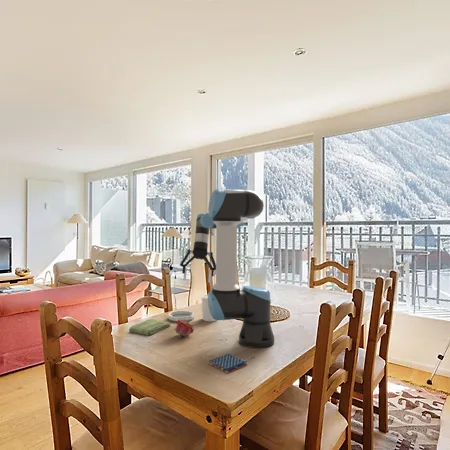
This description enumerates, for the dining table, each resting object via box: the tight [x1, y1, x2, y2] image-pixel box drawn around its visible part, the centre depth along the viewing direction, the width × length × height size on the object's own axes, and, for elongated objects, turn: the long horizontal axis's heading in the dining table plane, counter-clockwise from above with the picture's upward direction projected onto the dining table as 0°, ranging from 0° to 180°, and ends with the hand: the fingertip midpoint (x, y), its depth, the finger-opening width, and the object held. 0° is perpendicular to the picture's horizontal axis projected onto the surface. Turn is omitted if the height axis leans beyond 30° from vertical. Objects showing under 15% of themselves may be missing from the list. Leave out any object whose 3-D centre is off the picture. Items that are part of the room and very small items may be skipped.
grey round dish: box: [168, 309, 195, 323], centre depth 176 cm, size 13×13×3 cm
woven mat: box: [208, 353, 248, 374], centre depth 119 cm, size 10×11×2 cm
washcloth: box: [128, 318, 172, 337], centre depth 158 cm, size 13×18×3 cm
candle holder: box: [200, 294, 218, 322], centre depth 175 cm, size 10×10×12 cm
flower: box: [174, 319, 194, 339], centre depth 147 cm, size 10×9×8 cm
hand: (197, 281), depth 177 cm, fingers open, 13 cm apart
